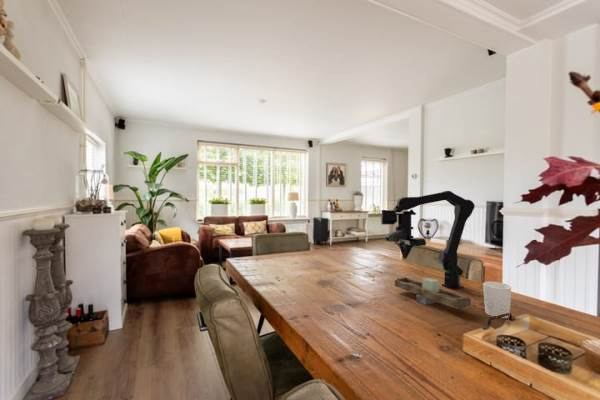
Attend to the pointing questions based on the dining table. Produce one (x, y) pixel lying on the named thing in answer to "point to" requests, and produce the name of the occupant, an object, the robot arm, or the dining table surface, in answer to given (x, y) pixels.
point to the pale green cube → (430, 284)
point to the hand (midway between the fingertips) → (405, 258)
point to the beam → (432, 294)
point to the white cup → (497, 298)
